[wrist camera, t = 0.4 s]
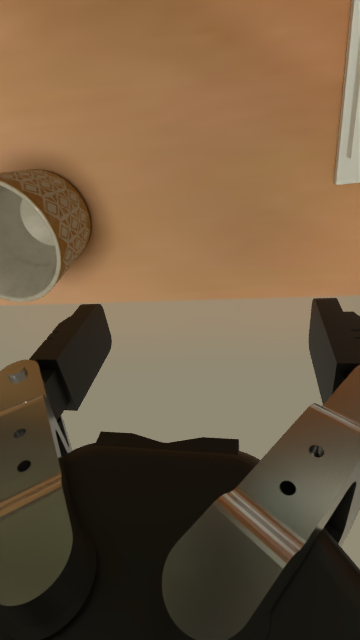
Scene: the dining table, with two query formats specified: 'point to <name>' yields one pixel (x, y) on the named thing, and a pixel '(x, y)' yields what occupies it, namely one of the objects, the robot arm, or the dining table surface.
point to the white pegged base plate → (350, 107)
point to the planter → (38, 232)
